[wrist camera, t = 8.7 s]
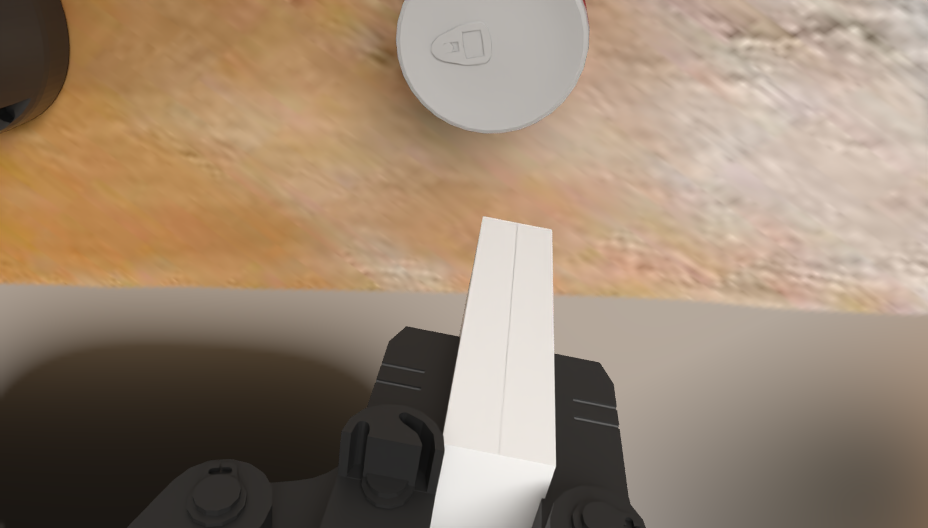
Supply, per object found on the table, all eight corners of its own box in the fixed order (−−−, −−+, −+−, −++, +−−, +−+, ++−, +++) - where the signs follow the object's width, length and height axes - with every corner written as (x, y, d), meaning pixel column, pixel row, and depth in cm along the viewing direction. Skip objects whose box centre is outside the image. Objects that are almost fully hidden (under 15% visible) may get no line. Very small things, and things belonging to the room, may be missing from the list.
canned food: (412, -36, 36) (361, -5, 27) (551, -106, 34) (548, -99, 24) (470, 93, 39) (443, 162, 30) (600, 38, 37) (615, 94, 27)
